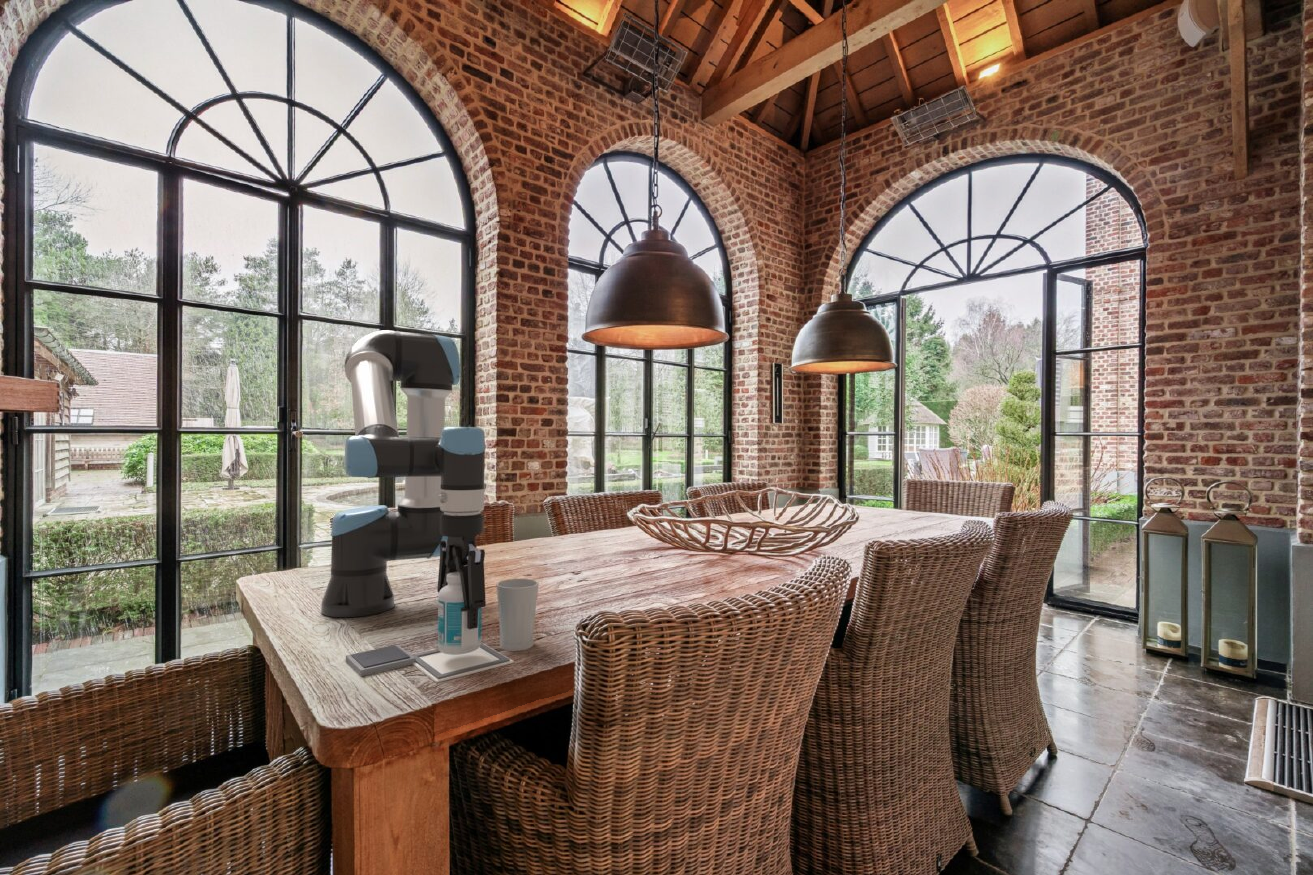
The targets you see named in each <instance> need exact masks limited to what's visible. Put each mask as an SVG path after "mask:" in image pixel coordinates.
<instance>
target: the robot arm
mask: <svg viewBox="0 0 1313 875" xmlns="http://www.w3.org/2000/svg"><path fill="white" fill-rule="evenodd" d="M344 374H345V376H346V378H347V380H348V382H349V383H350V384H351V386H350V387H351V396H352V399H351V400H352V408H353V421H354V424H353V425H354V433H355V434H354V435H352V436H348V437H347V438H346V439H345V443H344V444H345V445H344V470H345V471H344V472H345V474H346V475H347V476H349V477H351V478H367V479H375V478H376V479H377V478H405V479H404V480H405V481H404V496H403V497H402V498H401V500H399V501H398V502H397V510H394V511H393V510H391V511H390V510H389V508H388V506H387V505H383V504H382V505H381V504H380V505H367V506H359V507H356V508H354V507H353V508H351V509H346V510H343V511H340V512H338V513H336V514H335V515H333V517H332V521H331V532H330V536H331V553H330V554H331V556H330V557H331V558H330V577H329V578H330V579H329V582H328V583H327V586H326V589H325V592H324V594H323V597H322V600H321V605H320V606H321V607H320V608H321V610H320V612H321V614H322V615H324V616H327V617H332V618H353V617H354V618H357V617H365V616H371V615H376V614H379V613H380V614H381V613H383V612H387V611H389V610H391V609H393V608H394V606H395V595H394V592H393V589H392V586H391V583H390V579H389V577H388V573H387V571H388V570H387V568H388V567H387V563H388V562H393V561H403V560H417V559H427V560H428V559H432V558H439V564H438V578H437V579H438V580H437V588H436V589H437V593H438V594H439V591H440V590H441V589H442V588H443V587H445V586H447V585H448V583H447V581H446V580H447V574H449V573H452V572H459V573H460V578H461V585H462V592H463V599H464V606H465V607H463V608H461V611H462V637H461V647H462V648H467V647H471V646H476V645H478V612H479V608H481V609H482V608H485V607H486V606H487V605H486V604H487V602H486V583H485V581H486V580H485V557H486V556H485V555H486V550H485V549H484V548H483V549H478V547H477V541H476V540H477V539H476V537H477V536H479V535H482V534H483V532H484V525H485V524H484V518H485V517H484V516H485V515H484V514H483V513H482V512H483V511H484V510H485V462H486V461H485V458H486V457H485V455H486V449H487V445H486V438H485V431H484V429H483V428H481V427H476V426H445V418H446V417H445V416H446V398H447V397H448V396H449V395H450V394H451V393H453V386H457V385H458V384H459V382H460V378H461V362H460V354H459V351H458V347H457V344H456V343H455V341H454V340H453V339H452V337H449V336H446V335H445V336H444V335H439V334H434V333H433V334H430V333H421V332H420V333H418V332H417V333H416V332H407V331H406V332H405V331H395V330H389V329H386V330H385V329H384V330H378V331H375V332H372V333H369V334H366V335H365V336H363V337H362V338H360V339H359V340H358V341H356V342H355V343H354V344H353V345H352V346H351V348H350V349H349V351H348V353H347V354H346V356H345V360H344ZM391 381H392V382H400V390H401V391H402V392H403V393H404V395H405V396H406V399H407V400H406V401H407V402H406V403H407V404H406V406H407V407H406V436H400V434H399V433H400V432H399V428H398V427H399V426H398V422H397V416H396V415H397V414H396V411H395V410H396V408H395V402H394V398H393V397H394V396H393V393H392V385H391Z"/></svg>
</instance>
